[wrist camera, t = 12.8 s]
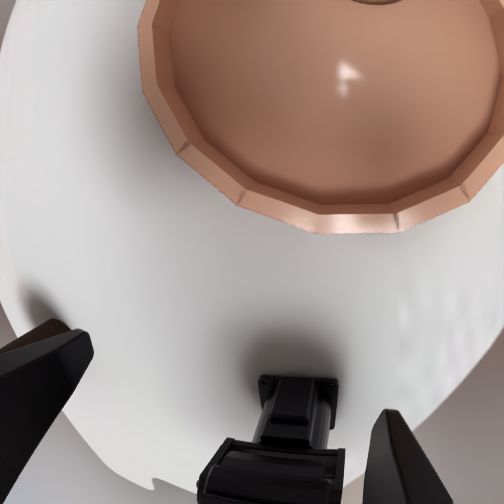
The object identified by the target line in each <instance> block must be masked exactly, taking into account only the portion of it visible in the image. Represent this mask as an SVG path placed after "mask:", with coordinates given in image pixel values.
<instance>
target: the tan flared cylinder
mask: <svg viewBox="0 0 504 504" xmlns="http://www.w3.org/2000/svg"><path fill="white" fill-rule="evenodd" d="M351 1H354V2H358V3H362V4H368V5H388V4H393V3H396V2H399V1H401V0H351Z"/></svg>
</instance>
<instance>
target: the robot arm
mask: <svg viewBox="0 0 504 504" xmlns="http://www.w3.org/2000/svg"><path fill="white" fill-rule="evenodd" d="M93 356H94V350H93V346H92V342H91V339H90V335H89V333H88V332H86V331H84V330H81V329H74V330H71V331H68V332H66V333H63V334H60V335H57V336H54V337H51V338H48V339H45V340H42V341H39V342H36V343H33V344H30V345H27V346H24V347H21V348H18V349H15V350H12V351H9V352H6V353H3V354H0V504H3V503H4V501H5V499H6V497H7V496H8V494H9V492H10V491H11V489H12V487H13V485H14V484H15V482H16V480H17V479H18V476H19V475H20V473H21V472H22V470H23V469H24V467H25V465H26V464H27V462H28V461H29V459H30V457H31V456H32V454H33V453H34V451H35V449H36V448H37V446H38V445H39V443H40V442H41V440H42V438H43V437H44V435H45V434H46V432H47V431H48V429H49V428H50V426H51V425H52V423H53V422H54V420H55V419H56V417H57V416H58V414H59V413H60V411H61V410H62V408H63V407H64V406H65V404H66V403H67V401H68V400H69V398H70V397H71V395H72V394H73V392H74V390H75V389H76V387H77V385H78V383H79V382H80V380H81V378H82V376H83V374H84V373H85V371H86V369H87V367H88V365H89V364H90V362H91V360H92V358H93ZM265 381H266V382H265ZM331 384H333V385H331ZM258 386H259V393H260V400H261V406H262V413H261V416H260V419H259V422H258V425H257V428H256V431H255V434H254V437H253V440H252V442H246V441H239V440H235V439H234V438H228V437H227V438H226V440H225V441H224V443H223V444H222V445H221V446H220V447H219V449H218V450H217V452H216V453H215V455H214V456H213V457H212V459H211V460H210V462H209V463H208V465H207V466H206V467H205V469H204V470H203V472H202V473H201V474H200V477H199V480H198V481H197V484H196V486H197V488H198V490H197V502H198V504H341V497H342V489H343V478H344V464H345V448H338V449H327V444H328V436H329V430H332V429H334V427H335V418H336V408H337V397H338V386H339V382H338V381H337V380H336V379H323V378H299V377H282V376H268V375H262V376H260V377H259V380H258ZM362 504H453V500H452V499H451V497H450V495H449V493H448V492H447V490H446V488H445V486H444V485H443V483H442V482H441V480H440V478H439V476H438V475H437V473H436V471H435V469H434V468H433V466H432V465H431V463H430V461H429V459H428V458H427V456H426V454H425V453H424V451H423V450H422V448H421V446H420V444H419V443H418V441H417V440H416V438H415V436H414V435H413V433H412V431H411V430H410V428H409V427H408V425H407V423H406V422H405V420H404V419H403V417H402V415H401V414H400V412H399V411H398V410H394V409H384V410H383V411H382V412H381V414H380V416H379V417H378V419H377V421H376V423H375V424H374V426H373V429H372V432H371V439H370V446H369V453H368V459H367V465H366V471H365V478H364V489H363V503H362Z"/></svg>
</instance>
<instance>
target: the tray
mask: <svg viewBox="0 0 504 504" xmlns="http://www.w3.org/2000/svg"><path fill="white" fill-rule="evenodd" d="M137 28H138V44H139V58H140V70H141V81H142V91H143V94H144V96H145V98H146V99H147V101H148V103H149V105H150V107H151V109H152V111H153V113H154V114H155V116H156V118H157V120H158V122H159V124H160V126H161V127H162V129H163V131H164V133H165V135H166V137H167V139H168V140H169V142H170V144H171V146H172V148H173V150H174V151H175V153H176V155H177V156H179V157H180V158H181V159H182V160H183V161H185V162H186V163H187V164H188V165H189V166H191V167H192V168H193V169H194V170H195V171H197V172H198V173H199V174H200V175H201V176H203V177H204V178H205V179H206V180H207V181H209V182H210V183H211V184H212V185H213V186H215V187H216V188H217V189H218V190H219V191H220V192H222V193H223V194H224V195H225V196H226V197H228V198H229V199H230V200H231V201H232V202H233V203H235V204H236V205H237V206H240V207H243V208H246V209H248V210H251V211H254V212H257V213H260V214H263V215H265V216H268V217H271V218H274V219H277V220H279V221H282V222H285V223H288V224H290V225H293V226H296V227H299V228H301V229H304V230H307V231H310V232H312V233H315V234H331V233H399V232H402V231H404V230H406V229H409V228H411V227H413V226H416V225H418V224H420V223H423V222H425V221H427V220H430V219H432V218H434V217H436V216H439V215H441V214H443V213H445V212H448V211H450V210H452V209H454V208H457V207H459V206H461V205H463V204H466V203H468V202H470V201H471V200H472V198H473V197H474V196H475V195H476V194H477V193H478V192H479V191H480V190H481V188H482V187H483V186H484V185H485V184H486V183H487V182H488V180H489V179H490V178H491V177H492V176H493V175H494V173H495V172H496V171H497V170H498V169H499V167H500V166H501V165H502V164H503V163H504V0H401V1H399V2H396V3H393V4H388V5H368V4H362V3H358V2H354V1H351V0H146V3H145V5H144V8H143V11H142V14H141V17H140V20H139V23H138V27H137Z"/></svg>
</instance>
